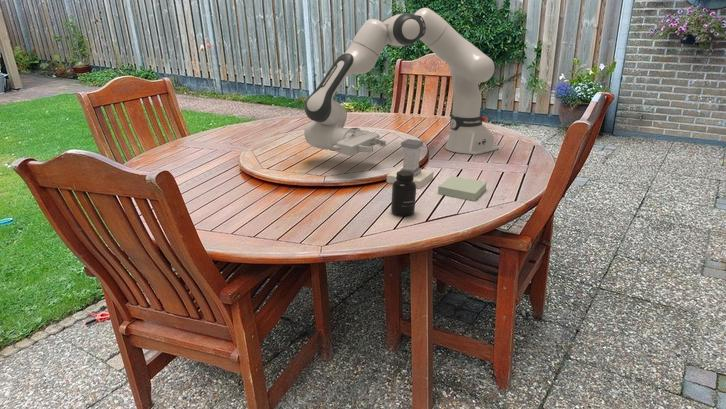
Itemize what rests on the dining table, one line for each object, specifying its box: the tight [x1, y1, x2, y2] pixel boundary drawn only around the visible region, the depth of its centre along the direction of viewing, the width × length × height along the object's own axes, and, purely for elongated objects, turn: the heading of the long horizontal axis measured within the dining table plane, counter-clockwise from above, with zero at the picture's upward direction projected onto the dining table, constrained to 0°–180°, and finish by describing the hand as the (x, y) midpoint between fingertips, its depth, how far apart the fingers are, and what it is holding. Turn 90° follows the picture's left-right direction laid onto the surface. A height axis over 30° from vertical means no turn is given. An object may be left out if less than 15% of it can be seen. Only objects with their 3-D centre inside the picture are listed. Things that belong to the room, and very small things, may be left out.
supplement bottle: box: [390, 171, 417, 217], centre depth 139 cm, size 7×7×12 cm
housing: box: [400, 138, 424, 177], centre depth 164 cm, size 6×6×11 cm
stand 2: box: [437, 175, 488, 202], centre depth 157 cm, size 12×12×2 cm
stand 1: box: [386, 165, 435, 189], centre depth 167 cm, size 12×12×2 cm
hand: (378, 146), depth 169 cm, fingers open, 8 cm apart
